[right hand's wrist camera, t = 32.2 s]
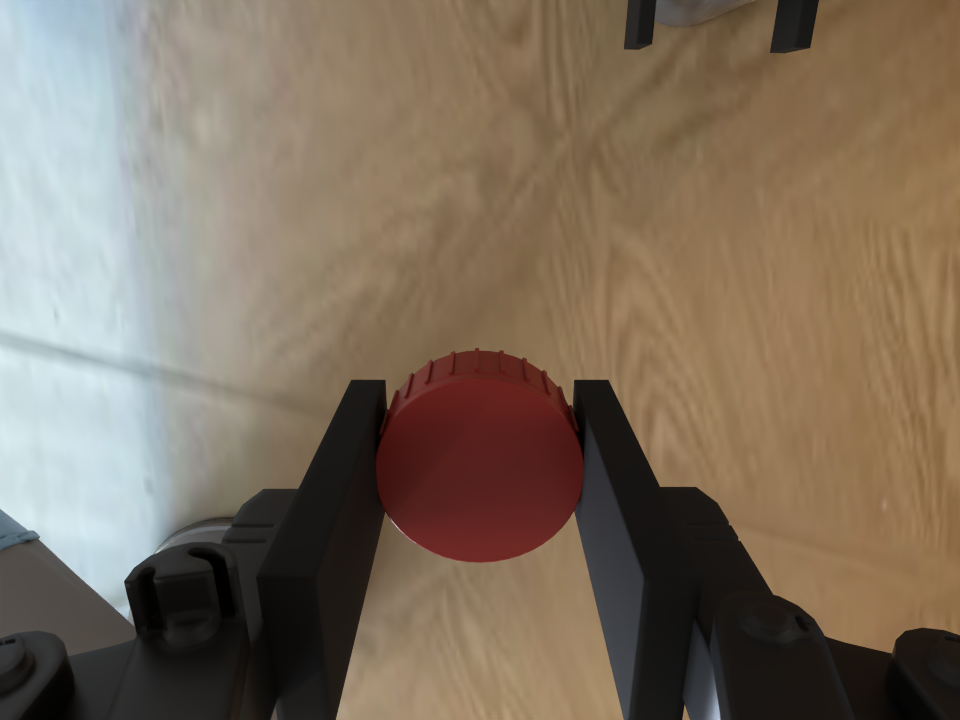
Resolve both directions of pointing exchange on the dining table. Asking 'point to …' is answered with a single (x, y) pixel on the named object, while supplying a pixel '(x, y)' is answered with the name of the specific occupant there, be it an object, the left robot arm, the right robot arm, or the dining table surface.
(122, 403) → the dining table surface
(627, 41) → the left robot arm
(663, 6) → the bottle
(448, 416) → the cap
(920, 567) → the dining table surface
